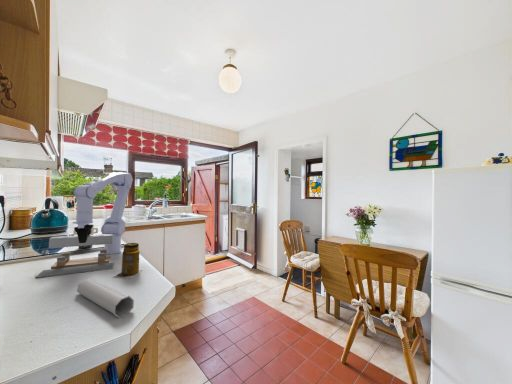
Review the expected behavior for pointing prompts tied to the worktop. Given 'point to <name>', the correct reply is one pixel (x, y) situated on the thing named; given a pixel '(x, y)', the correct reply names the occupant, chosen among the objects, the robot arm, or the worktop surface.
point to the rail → (73, 240)
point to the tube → (106, 297)
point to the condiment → (130, 261)
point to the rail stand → (81, 260)
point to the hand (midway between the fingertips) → (83, 241)
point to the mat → (75, 270)
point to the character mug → (89, 234)
